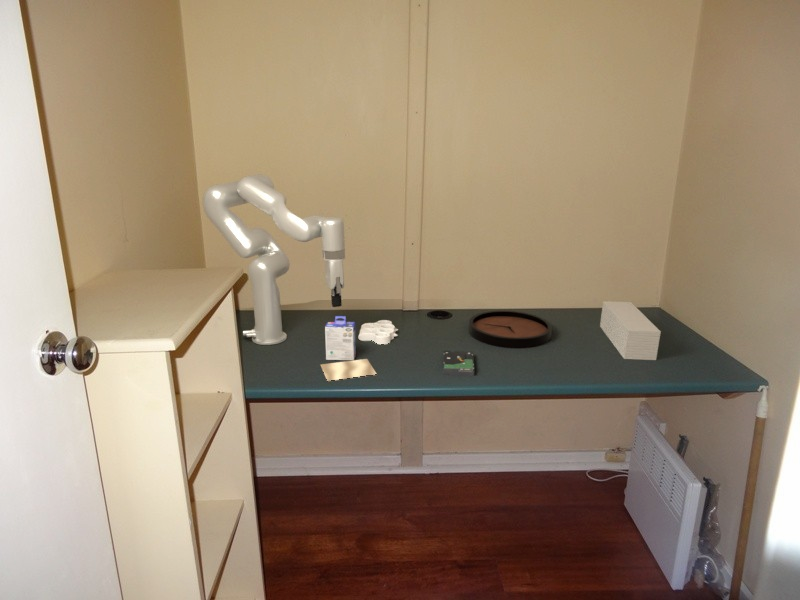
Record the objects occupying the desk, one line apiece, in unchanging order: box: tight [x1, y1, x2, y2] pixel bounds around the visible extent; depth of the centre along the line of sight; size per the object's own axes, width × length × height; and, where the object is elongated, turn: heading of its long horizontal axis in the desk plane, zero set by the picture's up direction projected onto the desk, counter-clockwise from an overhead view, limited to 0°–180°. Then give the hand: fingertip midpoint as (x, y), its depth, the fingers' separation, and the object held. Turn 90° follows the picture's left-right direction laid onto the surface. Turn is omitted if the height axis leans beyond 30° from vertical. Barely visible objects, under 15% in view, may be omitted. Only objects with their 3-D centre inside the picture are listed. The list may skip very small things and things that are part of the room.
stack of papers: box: [599, 300, 662, 361], centre depth 200 cm, size 32×11×11 cm, turn 175°
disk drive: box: [442, 350, 475, 377], centre depth 181 cm, size 10×3×15 cm
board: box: [319, 358, 378, 382], centre depth 177 cm, size 16×12×1 cm
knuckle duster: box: [357, 319, 399, 345], centre depth 206 cm, size 3×18×15 cm
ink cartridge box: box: [324, 315, 357, 361], centre depth 185 cm, size 10×6×14 cm, turn 89°
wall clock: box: [468, 310, 553, 349], centre depth 210 cm, size 31×4×31 cm
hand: (336, 305), depth 189 cm, fingers closed
